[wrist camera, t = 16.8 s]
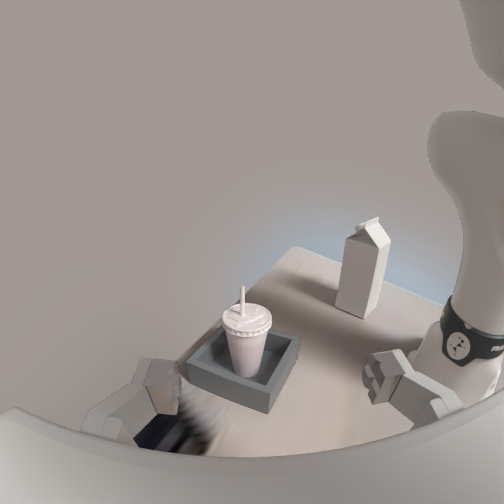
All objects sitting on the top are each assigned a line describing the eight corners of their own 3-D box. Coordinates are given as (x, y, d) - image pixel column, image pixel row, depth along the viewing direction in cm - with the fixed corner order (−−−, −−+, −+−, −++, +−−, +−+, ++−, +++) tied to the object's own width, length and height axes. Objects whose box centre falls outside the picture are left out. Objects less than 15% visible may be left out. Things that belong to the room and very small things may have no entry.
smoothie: (222, 356, 40) (218, 275, 35) (263, 352, 41) (267, 272, 36) (227, 386, 34) (222, 301, 29) (272, 381, 35) (280, 297, 30)
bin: (230, 338, 45) (229, 317, 44) (297, 358, 41) (300, 337, 39) (189, 382, 35) (185, 361, 34) (267, 414, 31) (270, 393, 29)
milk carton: (376, 305, 55) (394, 221, 48) (363, 319, 50) (383, 227, 43) (349, 294, 60) (362, 213, 53) (334, 307, 55) (347, 217, 48)
